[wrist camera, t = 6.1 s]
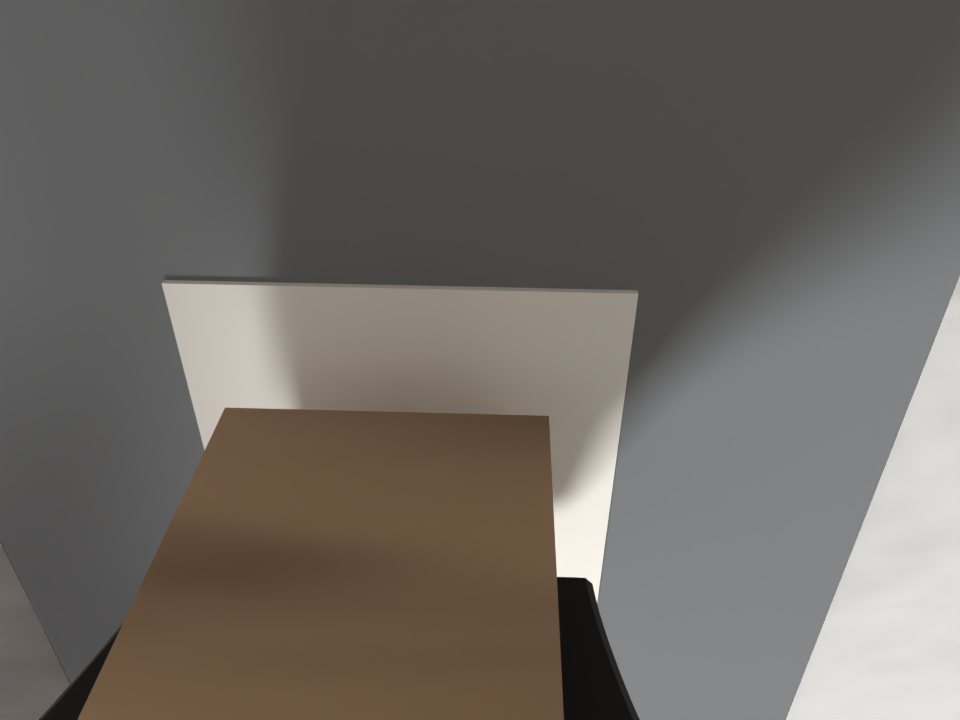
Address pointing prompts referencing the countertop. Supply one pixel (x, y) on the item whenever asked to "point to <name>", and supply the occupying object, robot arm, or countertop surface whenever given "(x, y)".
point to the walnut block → (350, 576)
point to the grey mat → (485, 281)
